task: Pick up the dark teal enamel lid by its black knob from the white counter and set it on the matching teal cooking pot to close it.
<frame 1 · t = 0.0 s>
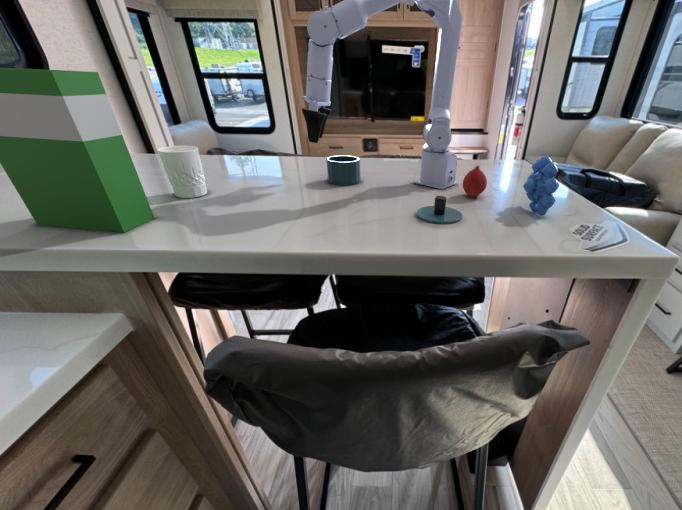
hand: (315, 139, 87), 11 cm above the table, tool pointing down, fingers open, 7 cm apart
lid: (438, 215, 71), point 1 cm above the table
pot: (344, 181, 94), on the table
white cup: (192, 194, 80), on the table
hardback book: (98, 222, 64), on the table
onion: (472, 199, 85), on the table
grapes: (530, 212, 77), on the table
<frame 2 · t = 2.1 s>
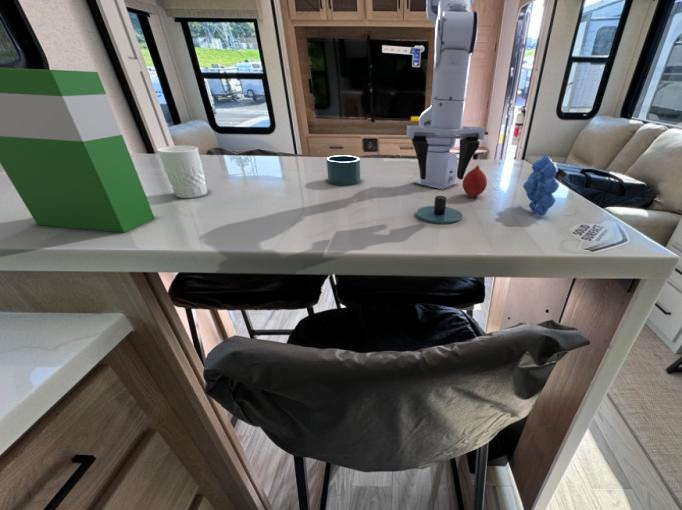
hand: (441, 178, 67), 8 cm above the table, tool pointing down, fingers open, 7 cm apart
nothing on the table moved.
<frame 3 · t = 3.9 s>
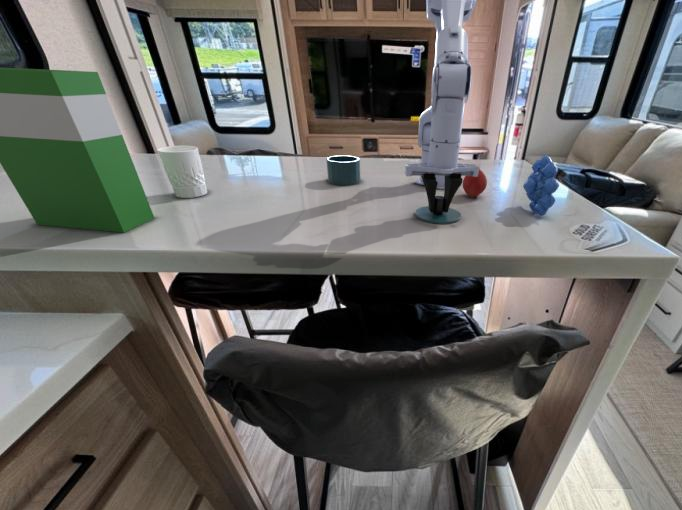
hand: (438, 210, 71), 2 cm above the table, tool pointing down, fingers closed on lid, 2 cm apart
lid: (437, 215, 71), point 1 cm above the table, touching gripper
everything else where it was.
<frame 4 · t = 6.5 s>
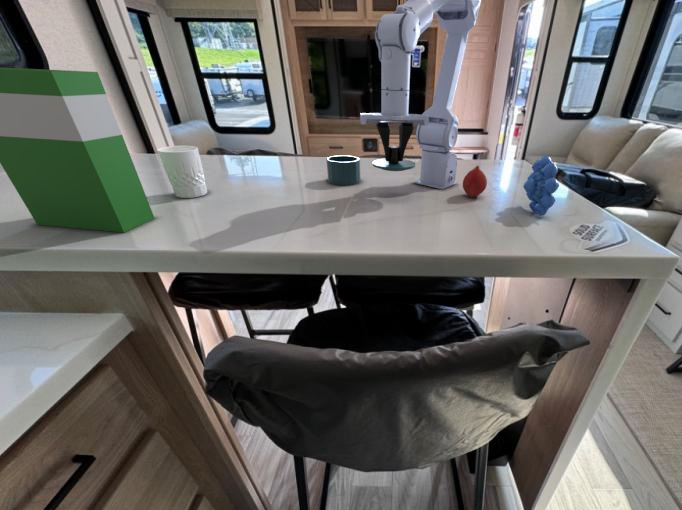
hand: (393, 160, 76), 9 cm above the table, tool pointing down, fingers closed on lid, 2 cm apart
lid: (393, 165, 77), point 8 cm above the table, touching gripper
everything else where it was.
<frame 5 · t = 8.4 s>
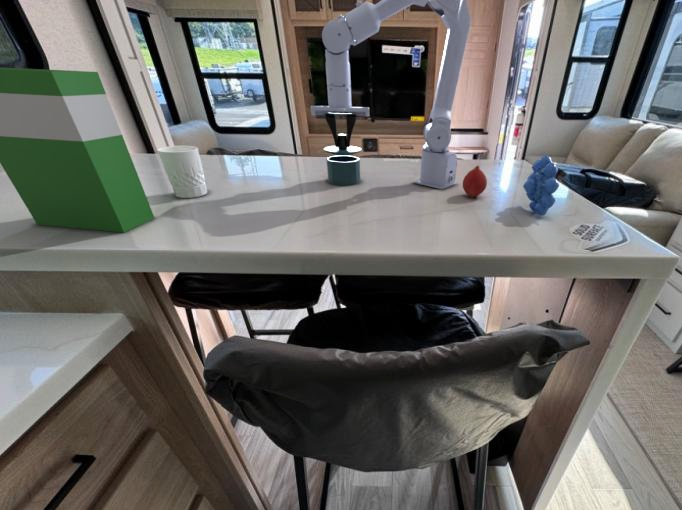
hand: (342, 146, 89), 9 cm above the table, tool pointing down, fingers closed on lid, 2 cm apart
lid: (342, 150, 89), point 8 cm above the table, touching gripper
everything else where it was.
when the fingers open (7 cm above the table, at t = 9.4 s): lid stays where it is, resting on pot.
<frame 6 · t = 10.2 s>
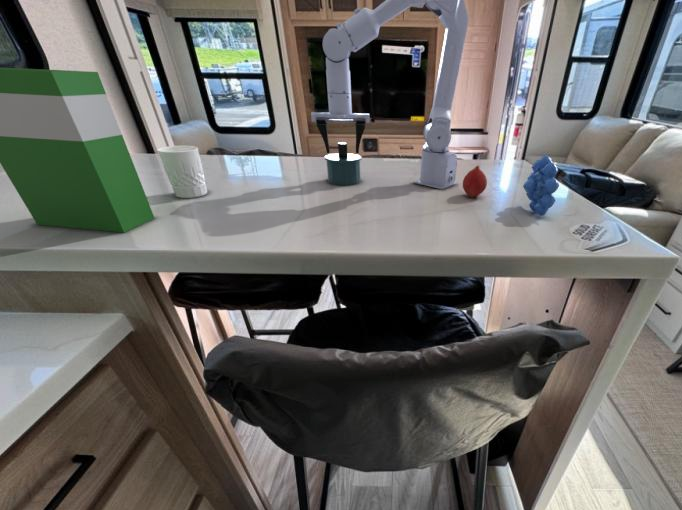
hand: (342, 152, 90), 7 cm above the table, tool pointing down, fingers open, 7 cm apart
lid: (343, 158, 91), point 6 cm above the table, touching pot
everything else where it was.
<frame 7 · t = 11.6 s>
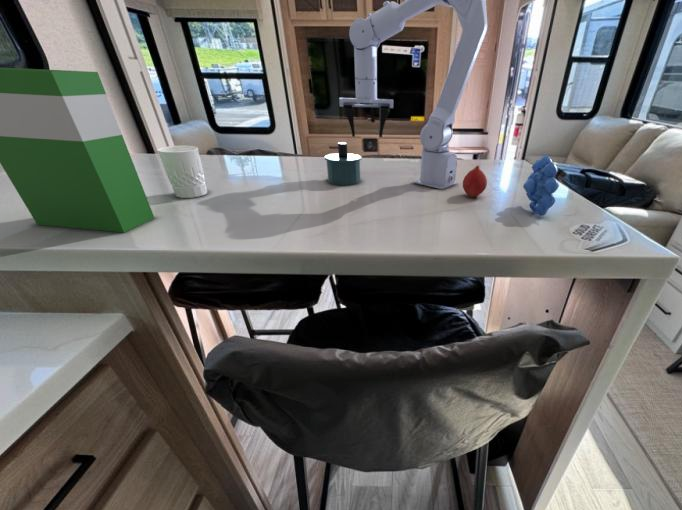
hand: (367, 136, 95), 10 cm above the table, tool pointing down, fingers open, 7 cm apart
nothing on the table moved.
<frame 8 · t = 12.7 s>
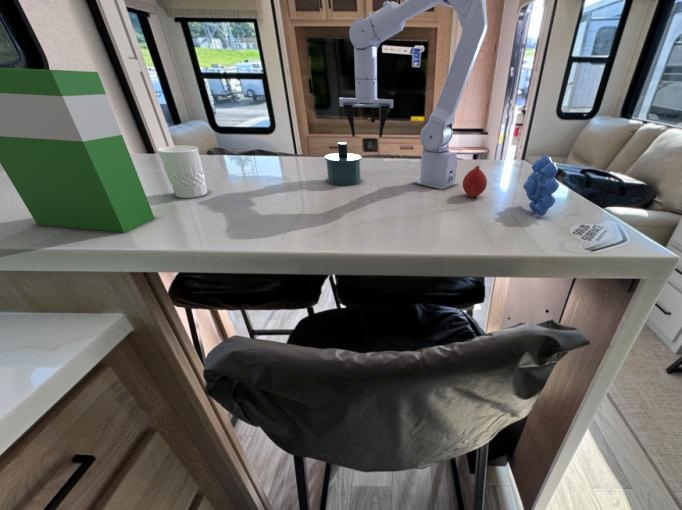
hand: (367, 136, 95), 10 cm above the table, tool pointing down, fingers open, 7 cm apart
nothing on the table moved.
at the end: lid 0.1 cm off-centre on the pot, point 5.9 cm above the pot's base; lid tilted 0°; the gripper is holding nothing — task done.
